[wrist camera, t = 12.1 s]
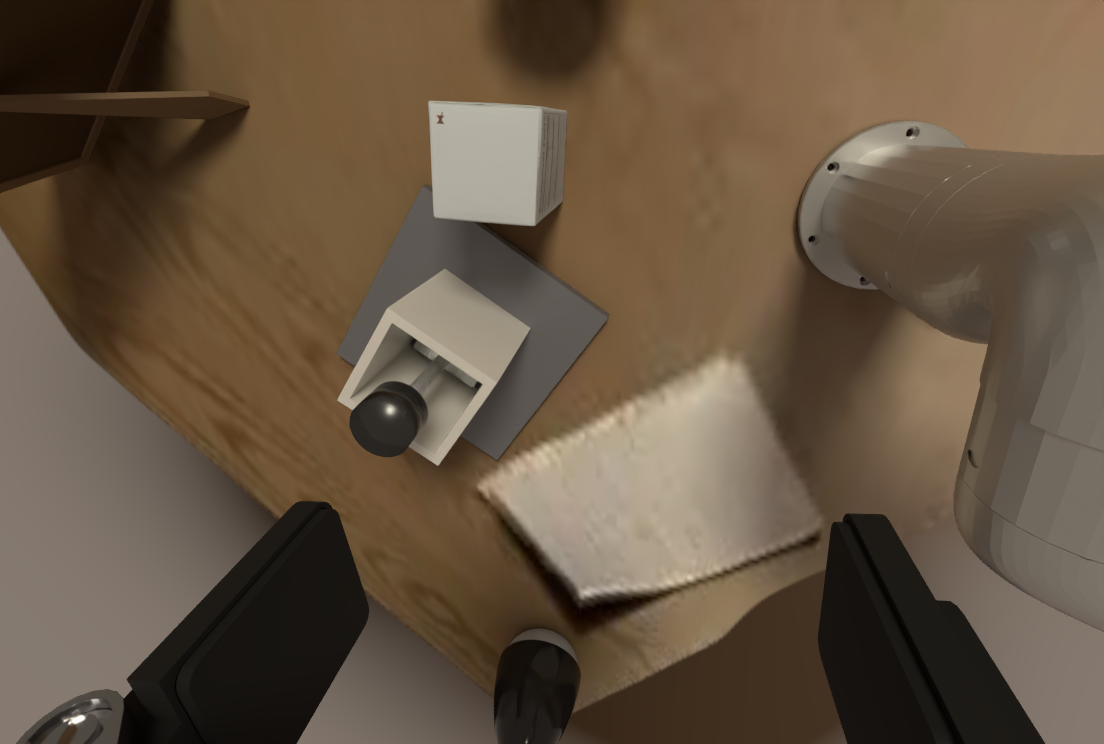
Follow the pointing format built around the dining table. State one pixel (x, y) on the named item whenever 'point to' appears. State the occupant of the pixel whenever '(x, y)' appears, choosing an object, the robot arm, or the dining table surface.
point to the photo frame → (75, 83)
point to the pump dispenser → (535, 688)
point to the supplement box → (496, 161)
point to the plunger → (399, 408)
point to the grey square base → (466, 330)
